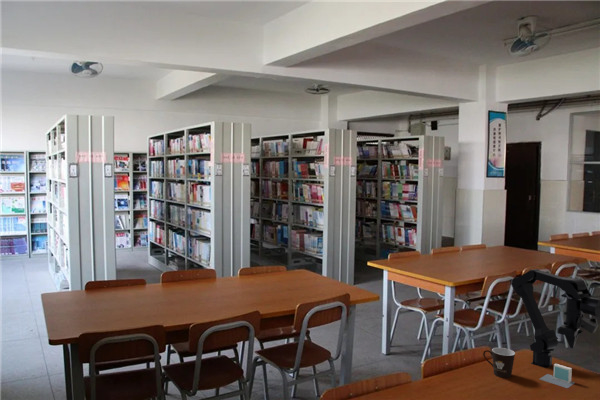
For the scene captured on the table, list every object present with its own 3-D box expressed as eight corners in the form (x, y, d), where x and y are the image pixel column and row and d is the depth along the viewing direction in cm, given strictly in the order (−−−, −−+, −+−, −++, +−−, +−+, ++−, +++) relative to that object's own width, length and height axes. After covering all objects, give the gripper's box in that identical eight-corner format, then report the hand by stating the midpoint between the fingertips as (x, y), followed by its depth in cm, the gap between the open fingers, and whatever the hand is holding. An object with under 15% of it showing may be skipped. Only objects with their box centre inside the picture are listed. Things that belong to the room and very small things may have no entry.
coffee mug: (518, 378, 190) (519, 354, 189) (502, 381, 187) (503, 356, 186) (496, 367, 201) (497, 344, 200) (480, 370, 197) (481, 346, 197)
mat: (539, 380, 189) (539, 379, 189) (547, 374, 194) (547, 373, 194) (567, 389, 181) (567, 388, 181) (575, 383, 186) (575, 382, 186)
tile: (553, 378, 190) (553, 364, 190) (554, 376, 191) (555, 363, 191) (569, 383, 185) (570, 369, 185) (571, 381, 187) (571, 368, 186)
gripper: (589, 319, 179) (587, 359, 180) (603, 310, 192) (601, 347, 193) (557, 312, 187) (555, 351, 188) (572, 304, 200) (571, 340, 201)
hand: (571, 347), depth 192 cm, fingers closed
